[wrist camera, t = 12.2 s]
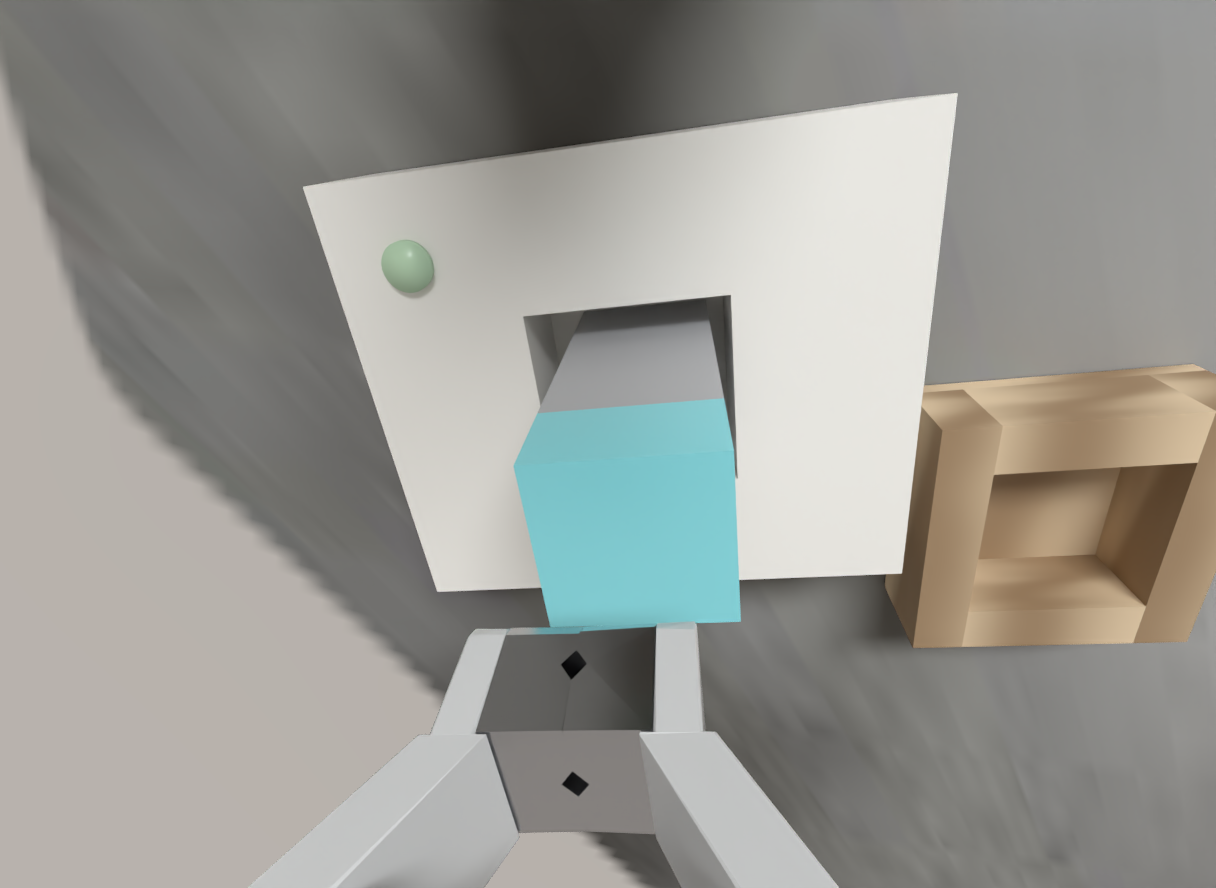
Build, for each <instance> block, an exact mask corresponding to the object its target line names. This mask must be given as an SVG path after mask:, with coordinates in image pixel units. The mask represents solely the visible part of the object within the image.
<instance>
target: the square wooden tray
mask: <svg viewBox="0 0 1216 888" xmlns="http://www.w3.org/2000/svg"><path fill="white" fill-rule="evenodd" d="M1215 573H1216V374H1214V373H1211V372H1209V371H1207V370H1205V369H1203V368H1201V367H1199V366H1196V365H1194V364H1189V365H1176V366H1164V367H1151V368H1139V369H1126V370H1114V371H1101V372H1089V373H1076V374H1064V375H1052V376H1039V377H1027V378H1014V379H1002V380H989V381H977V382H964V383H952V384H939V385H927V386H924V388H923V396H922V405H921V414H920V422H919V431H918V440H917V448H916V457H915V465H914V474H913V483H912V491H911V500H910V509H909V517H908V526H907V535H906V543H905V552H904V560H903V569H902V574H886V578H885V588H886V590H887V593H888V595H889V597H890V599H891V601H892V603H893V606H894V608H895V610H896V612H897V614H898V617H899V619H900V621H901V623H902V625H903V627H904V630H905V632H906V634H907V636H908V638H909V641H910V643H911V645H912V647H913V648H938V647H981V646H1025V645H1069V644H1112V643H1156V642H1187V640H1188V638H1189V635H1190V633H1191V630H1192V628H1193V626H1194V623H1195V621H1196V618H1197V616H1198V614H1199V611H1200V609H1201V606H1202V604H1203V601H1204V599H1205V597H1206V594H1207V592H1208V589H1209V587H1210V585H1211V582H1212V580H1213V577H1214V575H1215Z"/></svg>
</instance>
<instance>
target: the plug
mask: <svg viewBox="0 0 1216 888" xmlns="http://www.w3.org/2000/svg"><path fill="white" fill-rule="evenodd" d="M513 466H514V471H515V475H516V479H517V484H518V488H519V492H520V497H521V501H522V505H523V510H524V514H525V519H526V523H527V527H528V532H529V536H530V540H531V545H532V549H533V553H534V558H535V562H536V566H537V571H538V575H539V579H540V584H541V588H542V592H543V597H544V601H545V605H546V610H547V614H548V619H549V623H550V627H577V626H610V625H633V624H655V623H670V622H691V621H694V622H695V623H713V622H741V617H740V591H739V565H738V540H737V514H736V488H735V462H734V448H733V442H732V437H731V432H730V427H729V421H728V416H727V411H726V406H725V400H724V395H723V390H722V385H721V379H720V374H719V369H718V363H717V358H716V353H715V348H714V342H713V337H712V332H711V327H710V321H709V316H708V311H707V305H706V300H705V299H703V300H693V301H683V302H674V303H664V304H654V305H645V306H635V307H625V308H616V309H606V310H596V311H587V312H584V313H583V315H582V317H581V319H580V322H579V324H578V326H577V328H576V330H575V332H574V335H573V337H572V339H571V341H570V343H569V346H568V348H567V350H566V352H565V354H564V356H563V359H562V361H561V363H560V365H559V367H558V369H557V372H556V374H555V376H554V378H553V380H552V383H551V385H550V387H549V389H548V391H547V393H546V396H545V398H544V400H543V402H542V404H541V407H540V409H539V411H538V413H537V415H536V417H535V420H534V422H533V424H532V426H531V428H530V430H529V433H528V435H527V437H526V439H525V441H524V444H523V446H522V448H521V450H520V452H519V454H518V457H517V459H516V461H515V463H514V465H513Z"/></svg>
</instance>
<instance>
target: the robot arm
mask: <svg viewBox="0 0 1216 888" xmlns="http://www.w3.org/2000/svg"><path fill="white" fill-rule="evenodd" d="M578 831H590V832H615V833H639V834H655V835H656V839H657V841H658V843H659V845H660V847H661V849H662V851H663V853H664V855H665V856H666V858H667V860H668V862H669V864H670V866H671V868H672V870H673V872H674V874H675V876H676V878H677V880H678V882H679V884H680V886H681V888H839V887H838V886H837V884H836V883H835V882H834V880H833V879H832V878H831V877H830V875H829V874H828V873H827V872H826V870H825V869H824V868H823V867H822V865H821V864H820V863H819V861H818V860H817V859H816V858H815V856H814V855H813V854H812V853H811V851H810V850H809V849H808V848H807V846H806V845H805V844H804V842H803V841H802V840H801V839H800V837H799V836H798V835H797V834H796V832H795V831H794V830H793V829H792V827H791V826H790V825H789V824H788V822H787V821H786V820H785V818H784V817H783V816H782V815H781V813H780V812H779V811H778V810H777V808H776V807H775V806H774V805H773V803H772V802H771V801H770V799H769V798H768V797H767V796H766V794H765V793H764V792H763V791H762V789H761V788H760V787H759V786H758V784H757V783H756V782H755V781H754V779H753V778H752V777H751V775H750V774H749V773H748V772H747V770H746V769H745V768H744V767H743V765H742V764H741V763H740V762H739V760H738V759H737V758H736V756H735V755H734V754H733V753H732V751H731V750H730V749H729V748H728V746H727V745H726V744H725V743H724V741H723V740H722V739H721V738H720V736H719V735H718V734H717V732H709V731H706V730H705V718H704V706H703V694H702V682H701V670H700V658H699V646H698V634H697V625H696V623H695V622H694V621H691V622H670V623H655V624H633V625H610V626H588V627H550V628H511V629H475V630H474V631H473V632H472V634H471V635H470V636H469V637H468V638H467V641H466V643H465V646H464V648H463V651H462V653H461V656H460V659H459V661H458V664H457V666H456V669H455V671H454V674H453V676H452V679H451V681H450V684H449V687H448V689H447V692H446V694H445V697H444V699H443V702H442V704H441V707H440V710H439V712H438V715H437V717H436V720H435V722H434V725H433V727H432V730H431V732H430V734H429V735H418V736H417V737H415V738H414V739H413V740H412V741H411V742H410V743H409V744H408V745H406V746H405V747H404V748H403V749H402V750H401V751H400V752H399V753H398V754H396V755H395V756H394V757H393V758H392V759H391V760H390V761H389V762H387V763H386V764H385V765H384V766H383V767H382V768H381V769H380V770H378V771H377V772H376V773H375V774H374V775H373V776H372V777H371V778H369V779H368V780H367V781H366V782H365V783H364V784H363V785H362V786H361V787H359V788H358V789H357V790H356V791H355V792H354V793H353V794H352V795H351V796H350V797H348V798H347V799H346V800H345V801H344V802H343V803H342V804H340V805H339V806H338V807H337V808H336V809H335V810H334V811H333V812H332V813H330V814H329V815H328V816H327V817H326V818H325V819H324V820H323V821H321V822H320V823H319V824H318V825H317V826H316V827H315V828H314V829H312V830H311V831H310V832H309V833H308V834H307V835H306V836H305V837H303V839H301V840H300V841H299V842H298V843H297V844H296V845H295V846H293V847H292V848H291V849H290V850H289V851H288V852H287V853H286V854H284V855H283V856H282V857H281V858H280V859H279V860H278V861H277V862H276V863H274V864H273V865H272V866H271V867H270V868H269V869H268V870H267V871H265V873H263V874H262V875H261V876H260V877H259V878H258V879H257V880H255V881H254V882H253V883H252V884H251V885H250V886H249V887H248V888H484V887H485V886H486V884H487V883H488V882H489V880H490V879H491V877H492V876H493V874H494V873H495V872H496V870H497V869H498V867H499V866H500V864H501V863H502V862H503V860H504V859H505V857H506V856H507V855H508V853H509V852H510V850H511V849H512V847H513V846H514V845H515V843H516V842H517V840H518V839H519V833H527V832H578Z"/></svg>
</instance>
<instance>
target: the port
mask: <svg viewBox="0 0 1216 888" xmlns="http://www.w3.org/2000/svg"><path fill="white" fill-rule="evenodd" d="M957 94H958V93H953V94H942V95H932V96H922V97H912V98H902V99H892V100H885V101H878V102H871V103H864V104H857V105H850V106H843V107H836V108H829V109H822V110H815V111H808V112H801V113H794V114H788V115H781V116H774V117H767V118H760V119H753V120H746V121H739V122H732V123H725V124H718V125H711V126H704V127H697V128H690V129H683V130H676V131H669V132H662V133H655V134H649V135H642V136H635V137H628V138H621V139H614V140H607V141H600V142H593V143H586V144H579V145H572V146H565V147H558V148H551V149H544V150H537V151H530V152H523V153H516V154H509V155H503V156H496V157H489V158H482V159H475V160H468V161H461V162H454V163H447V164H440V165H433V166H426V167H419V168H412V169H405V170H398V171H391V172H384V173H377V174H372V175H366V176H361V177H355V178H349V179H344V180H338V181H332V182H327V183H321V184H316V185H310V186H304V187H303V189H304V192H305V195H306V198H307V201H308V204H309V207H310V210H311V213H312V216H313V219H314V222H315V225H316V228H317V231H318V234H319V237H320V240H321V243H322V246H323V249H324V252H325V255H326V258H327V261H328V264H329V267H330V270H331V273H332V276H333V279H334V282H335V285H336V288H337V291H338V294H339V297H340V300H341V303H342V306H343V309H344V312H345V315H346V318H347V321H348V324H349V327H350V330H351V333H352V336H353V339H354V342H355V345H356V349H357V352H358V355H359V358H360V361H361V364H362V367H363V370H364V373H365V376H366V379H367V382H368V385H369V388H370V391H371V394H372V397H373V400H374V403H375V406H376V409H377V412H378V415H379V418H380V421H381V424H382V427H383V430H384V433H385V436H386V439H387V442H388V445H389V448H390V451H391V454H392V457H393V460H394V463H395V466H396V469H397V472H398V475H399V478H400V481H401V484H402V487H403V490H404V493H405V496H406V499H407V502H408V505H409V508H410V511H411V514H412V517H413V520H414V523H415V526H416V529H417V532H418V535H419V538H420V541H421V544H422V547H423V550H424V553H425V556H426V559H427V562H428V565H429V568H430V571H431V574H432V577H433V580H434V583H435V586H436V589H437V592H445V591H470V590H496V589H521V588H541V584H540V579H539V575H538V571H537V566H536V562H535V558H534V553H533V549H532V545H531V540H530V536H529V532H528V527H527V523H526V519H525V514H524V510H523V505H522V501H521V497H520V492H519V488H518V484H517V479H516V475H515V471H514V466H513V465H514V463H515V461H516V459H517V457H518V454H519V452H520V450H521V448H522V446H523V444H524V441H525V439H526V437H527V435H528V433H529V430H530V428H531V426H532V424H533V422H534V420H535V417H536V415H537V413H538V411H539V409H540V407H541V404H542V402H543V400H544V398H545V396H546V393H547V391H548V389H549V387H550V385H551V383H552V380H553V378H554V376H555V374H556V372H557V369H558V367H559V365H560V363H561V361H562V359H563V356H564V354H565V352H566V350H567V348H568V346H569V343H570V341H571V339H572V337H573V335H574V332H575V330H576V328H577V326H578V324H579V322H580V319H581V317H582V315H583V313H584V312H587V311H596V310H606V309H616V308H625V307H635V306H645V305H654V304H664V303H674V302H683V301H693V300H703V299H705V300H706V305H707V311H708V316H709V321H710V327H711V332H712V337H713V342H714V348H715V353H716V358H717V363H718V369H719V374H720V379H721V385H722V390H723V395H724V400H725V406H726V411H727V416H728V421H729V427H730V432H731V437H732V442H733V448H734V462H735V488H736V514H737V540H738V565H739V580H750V579H775V578H801V577H826V576H852V575H877V574H902V569H903V560H904V552H905V543H906V535H907V526H908V517H909V509H910V500H911V491H912V483H913V474H914V465H915V457H916V448H917V440H918V431H919V422H920V414H921V405H922V396H923V388H924V379H925V371H926V362H927V353H928V345H929V336H930V327H931V319H932V310H933V301H934V293H935V284H936V276H937V267H938V258H939V250H940V241H941V232H942V224H943V215H944V207H945V198H946V189H947V181H948V172H949V163H950V155H951V146H952V137H953V129H954V120H955V112H956V103H957Z"/></svg>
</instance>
